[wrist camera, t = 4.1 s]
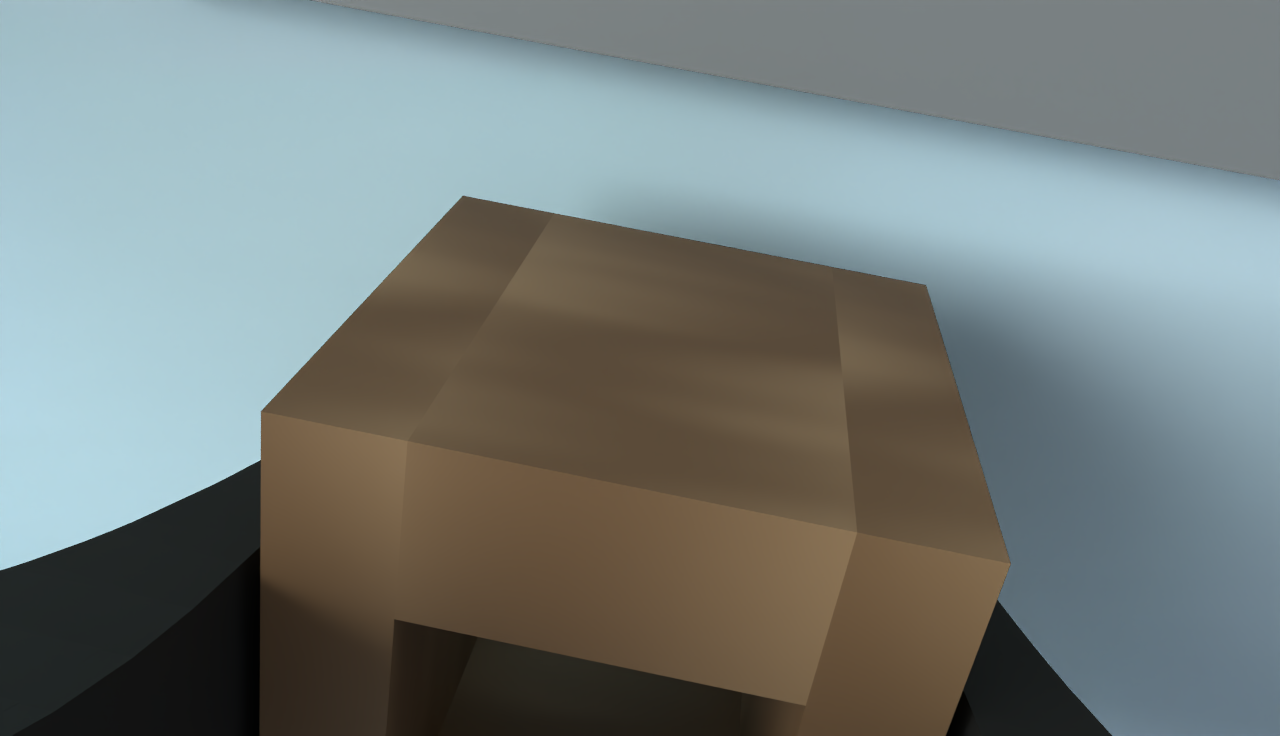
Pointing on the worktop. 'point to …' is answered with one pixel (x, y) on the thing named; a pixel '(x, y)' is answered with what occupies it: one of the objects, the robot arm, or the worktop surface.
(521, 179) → the worktop surface
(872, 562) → the collar
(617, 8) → the hub board
